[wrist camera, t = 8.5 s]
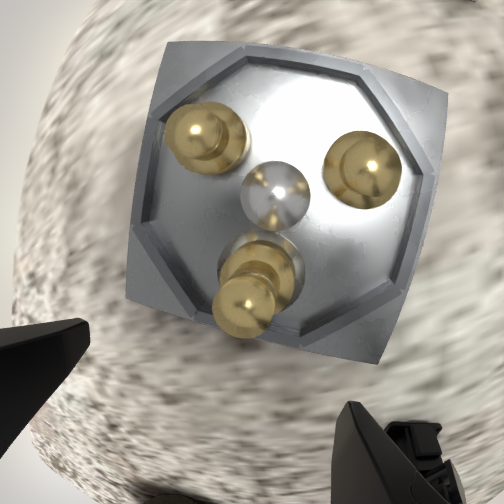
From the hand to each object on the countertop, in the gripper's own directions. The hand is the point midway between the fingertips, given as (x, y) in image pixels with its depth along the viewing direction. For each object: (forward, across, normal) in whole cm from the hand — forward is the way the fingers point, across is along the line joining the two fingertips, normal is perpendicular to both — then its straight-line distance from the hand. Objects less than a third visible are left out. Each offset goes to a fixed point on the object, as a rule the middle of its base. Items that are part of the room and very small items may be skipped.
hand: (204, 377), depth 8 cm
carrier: (+12, 0, -5) cm, 13 cm away
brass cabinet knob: (+11, 0, 0) cm, 11 cm away
